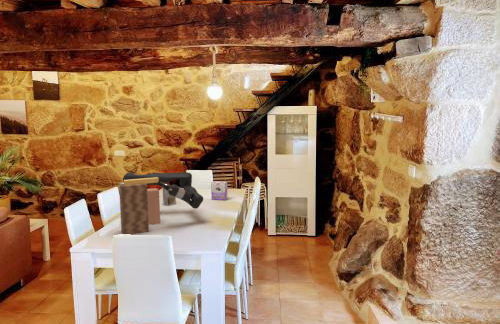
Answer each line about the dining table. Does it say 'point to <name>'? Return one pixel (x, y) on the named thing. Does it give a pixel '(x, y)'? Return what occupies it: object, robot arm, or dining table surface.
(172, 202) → the coffee box
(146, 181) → the dowel
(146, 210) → the plinth
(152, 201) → the terracotta base
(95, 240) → the dining table surface
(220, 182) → the candy box
